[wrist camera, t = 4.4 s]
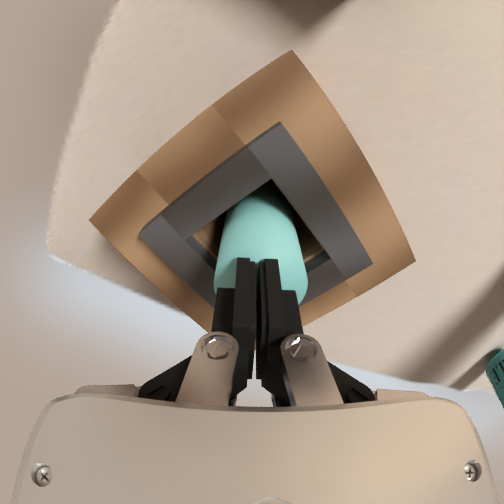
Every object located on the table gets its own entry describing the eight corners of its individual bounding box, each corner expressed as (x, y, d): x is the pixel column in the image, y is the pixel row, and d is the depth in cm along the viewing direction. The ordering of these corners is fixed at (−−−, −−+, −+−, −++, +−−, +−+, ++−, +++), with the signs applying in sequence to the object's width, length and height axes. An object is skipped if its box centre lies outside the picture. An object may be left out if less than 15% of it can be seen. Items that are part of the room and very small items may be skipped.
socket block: (375, 208, 24) (422, 270, 16) (242, 290, 28) (238, 367, 21) (278, 61, 18) (294, 46, 10) (134, 176, 23) (80, 228, 15)
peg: (298, 209, 21) (324, 293, 13) (252, 240, 22) (251, 332, 14) (264, 164, 19) (272, 227, 11) (216, 198, 20) (194, 278, 13)
